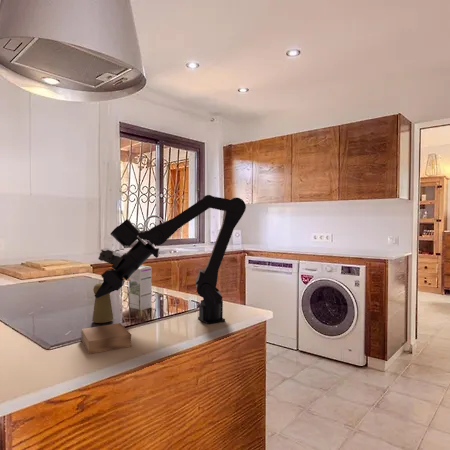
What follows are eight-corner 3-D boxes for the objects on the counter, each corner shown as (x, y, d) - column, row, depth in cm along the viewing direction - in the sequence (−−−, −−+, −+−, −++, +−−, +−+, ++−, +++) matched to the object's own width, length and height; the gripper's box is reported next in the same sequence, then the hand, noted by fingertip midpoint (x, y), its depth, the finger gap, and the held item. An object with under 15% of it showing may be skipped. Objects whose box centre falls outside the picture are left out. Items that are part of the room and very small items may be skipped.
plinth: (120, 334, 97) (120, 323, 97) (131, 346, 88) (131, 334, 88) (81, 340, 92) (81, 328, 92) (88, 353, 83) (88, 341, 83)
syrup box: (152, 307, 124) (152, 266, 124) (139, 311, 119) (140, 268, 119) (140, 304, 127) (140, 264, 127) (128, 308, 122) (128, 266, 122)
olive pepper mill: (106, 323, 103) (106, 286, 103) (88, 322, 105) (87, 285, 104) (117, 317, 109) (116, 282, 109) (99, 316, 110) (98, 281, 110)
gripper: (121, 236, 116) (86, 271, 115) (108, 241, 97) (67, 282, 96) (145, 260, 117) (111, 294, 116) (138, 269, 98) (97, 310, 98)
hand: (97, 294), depth 106 cm, fingers closed on olive pepper mill, 5 cm apart
